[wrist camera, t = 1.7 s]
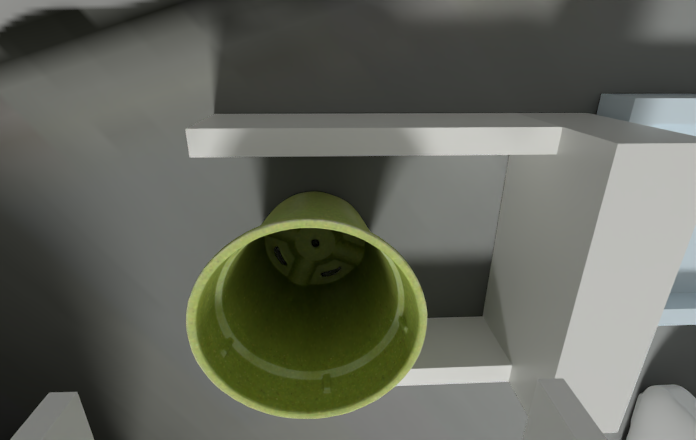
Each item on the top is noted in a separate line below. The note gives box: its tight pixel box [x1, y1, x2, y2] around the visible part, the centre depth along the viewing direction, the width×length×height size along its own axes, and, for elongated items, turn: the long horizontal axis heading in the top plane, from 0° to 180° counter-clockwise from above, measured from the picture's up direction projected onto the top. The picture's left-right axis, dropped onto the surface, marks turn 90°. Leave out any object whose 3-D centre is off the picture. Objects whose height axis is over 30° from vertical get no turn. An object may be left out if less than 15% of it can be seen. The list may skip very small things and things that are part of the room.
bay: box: [185, 113, 696, 433], centre depth 20 cm, size 20×14×8 cm
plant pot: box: [186, 191, 427, 419], centre depth 19 cm, size 9×9×9 cm
